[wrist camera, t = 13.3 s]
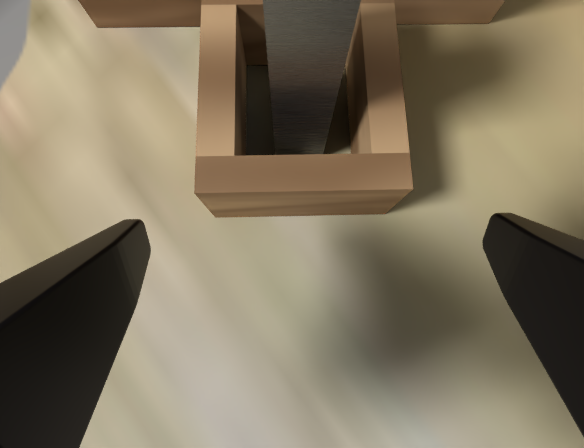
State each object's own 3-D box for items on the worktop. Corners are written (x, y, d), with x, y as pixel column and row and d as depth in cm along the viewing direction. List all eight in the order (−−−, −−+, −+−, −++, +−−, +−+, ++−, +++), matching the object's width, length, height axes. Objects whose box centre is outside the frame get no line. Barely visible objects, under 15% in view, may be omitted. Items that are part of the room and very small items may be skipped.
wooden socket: (520, 211, 18) (813, 99, 8) (75, 220, 17) (-205, 114, 7) (481, -21, 20) (658, -313, 11) (102, -18, 20) (-74, -319, 10)
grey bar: (322, 157, 18) (405, -183, 5) (275, 158, 18) (247, -184, 5) (319, 88, 19) (385, -350, 6) (274, 88, 19) (249, -351, 6)
